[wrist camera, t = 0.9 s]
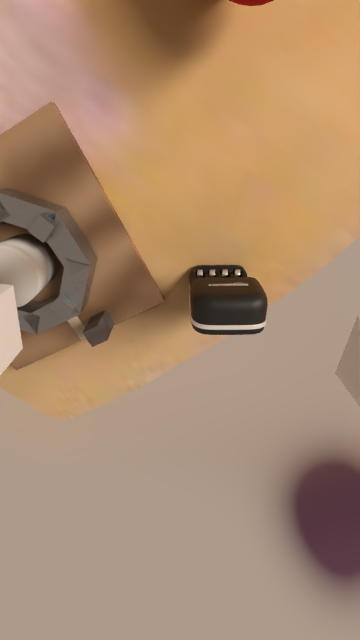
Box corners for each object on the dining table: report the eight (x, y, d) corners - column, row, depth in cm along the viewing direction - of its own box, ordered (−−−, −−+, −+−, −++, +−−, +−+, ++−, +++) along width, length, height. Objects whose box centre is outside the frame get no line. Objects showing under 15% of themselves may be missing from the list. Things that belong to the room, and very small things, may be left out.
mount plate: (-113, 213, 34) (-180, 224, 27) (55, 103, 29) (21, 87, 23) (20, 365, 42) (-8, 400, 36) (164, 298, 38) (161, 325, 32)
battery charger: (248, 258, 36) (276, 295, 26) (245, 289, 38) (270, 336, 27) (187, 258, 36) (190, 296, 26) (187, 289, 38) (190, 336, 27)
